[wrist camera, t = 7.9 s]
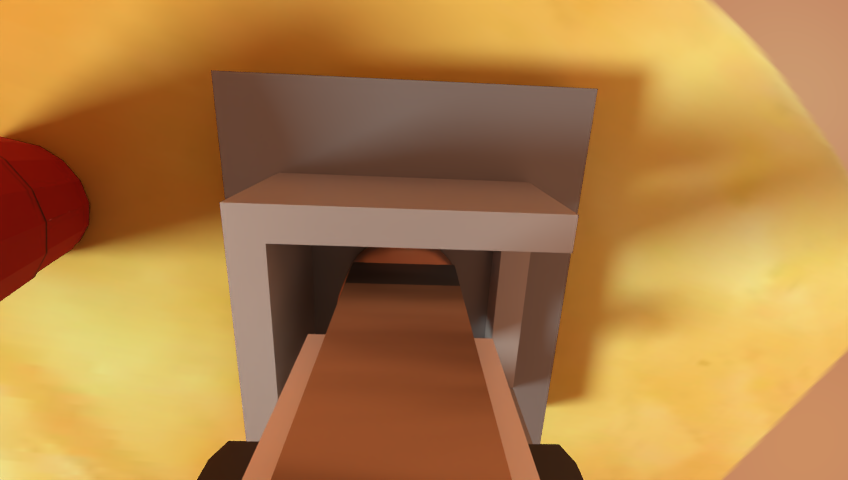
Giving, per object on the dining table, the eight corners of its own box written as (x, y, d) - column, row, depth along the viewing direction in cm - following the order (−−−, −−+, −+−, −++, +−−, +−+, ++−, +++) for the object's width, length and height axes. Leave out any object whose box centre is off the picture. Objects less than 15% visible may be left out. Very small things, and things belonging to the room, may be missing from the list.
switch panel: (524, 410, 25) (579, 558, 17) (270, 406, 24) (199, 557, 16) (569, 91, 19) (685, 81, 11) (242, 75, 19) (111, 52, 10)
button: (454, 342, 20) (459, 367, 18) (345, 339, 19) (338, 365, 18) (462, 238, 18) (468, 254, 16) (343, 234, 18) (335, 250, 16)
